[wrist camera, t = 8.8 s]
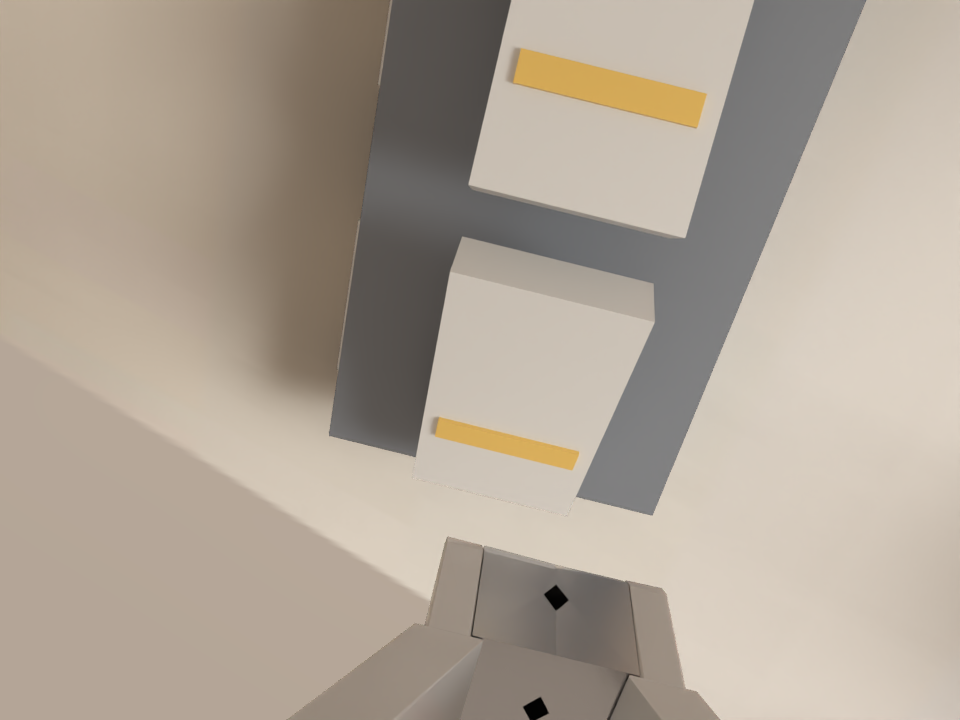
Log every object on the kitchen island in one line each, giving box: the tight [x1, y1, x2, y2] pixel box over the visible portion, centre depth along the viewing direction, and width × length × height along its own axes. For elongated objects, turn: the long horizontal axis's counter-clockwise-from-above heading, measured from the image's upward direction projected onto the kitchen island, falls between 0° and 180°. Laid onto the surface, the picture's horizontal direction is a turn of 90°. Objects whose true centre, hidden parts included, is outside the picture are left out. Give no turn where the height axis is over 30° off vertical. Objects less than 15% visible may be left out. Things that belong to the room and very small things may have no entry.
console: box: [329, 0, 866, 515], centre depth 22 cm, size 32×13×6 cm, turn 168°
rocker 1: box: [468, 0, 754, 238], centre depth 18 cm, size 9×6×2 cm, turn 167°
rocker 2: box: [412, 236, 655, 516], centre depth 22 cm, size 9×6×2 cm, turn 168°
